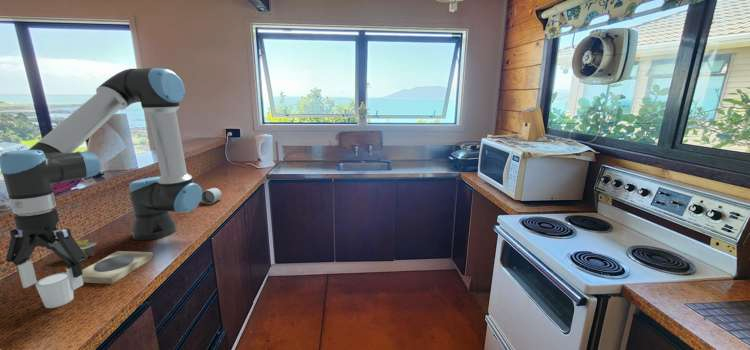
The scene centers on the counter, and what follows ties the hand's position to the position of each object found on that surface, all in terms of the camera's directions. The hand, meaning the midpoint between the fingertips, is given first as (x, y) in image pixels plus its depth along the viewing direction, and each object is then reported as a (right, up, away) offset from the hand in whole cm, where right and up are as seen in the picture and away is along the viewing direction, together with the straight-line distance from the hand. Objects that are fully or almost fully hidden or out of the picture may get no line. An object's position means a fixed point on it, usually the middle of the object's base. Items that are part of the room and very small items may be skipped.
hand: (53, 286), depth 83 cm
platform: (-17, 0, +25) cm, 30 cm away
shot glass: (0, -5, +2) cm, 5 cm away
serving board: (+2, -1, +18) cm, 18 cm away
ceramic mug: (-3, +15, +85) cm, 86 cm away
